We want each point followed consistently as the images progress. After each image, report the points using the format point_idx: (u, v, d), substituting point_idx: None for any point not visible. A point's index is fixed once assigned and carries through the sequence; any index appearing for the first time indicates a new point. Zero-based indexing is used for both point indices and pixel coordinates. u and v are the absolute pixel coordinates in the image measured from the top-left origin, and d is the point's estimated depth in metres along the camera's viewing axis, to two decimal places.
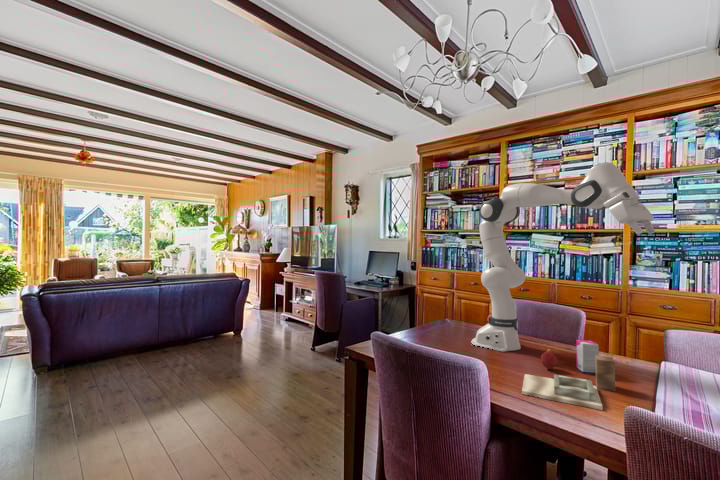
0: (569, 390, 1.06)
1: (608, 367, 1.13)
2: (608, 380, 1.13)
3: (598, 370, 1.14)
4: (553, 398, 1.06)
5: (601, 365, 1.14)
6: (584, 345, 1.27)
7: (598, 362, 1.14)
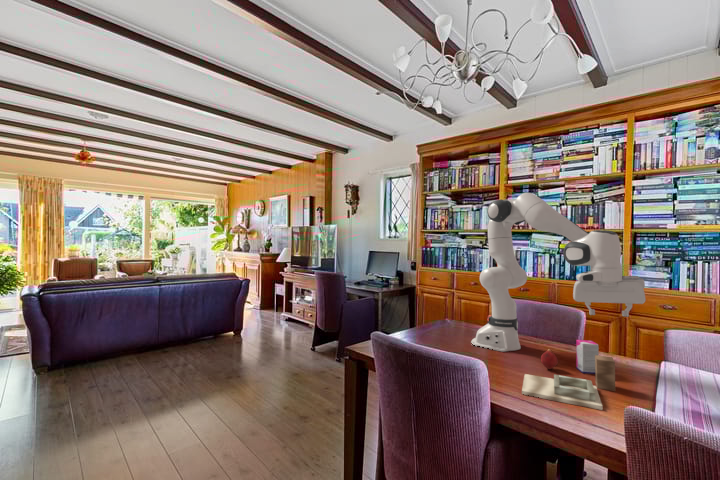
0: (569, 390, 1.06)
1: (608, 367, 1.13)
2: (608, 380, 1.13)
3: (598, 370, 1.14)
4: (553, 398, 1.06)
5: (601, 365, 1.14)
6: (584, 345, 1.27)
7: (598, 362, 1.14)
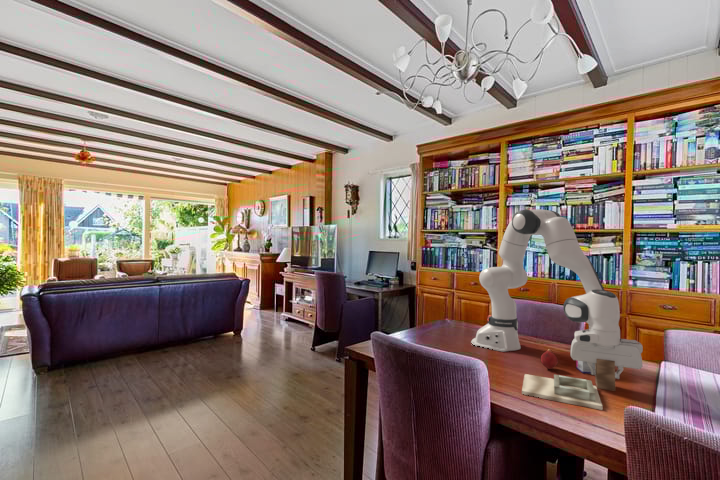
0: (569, 390, 1.06)
1: (608, 367, 1.13)
2: (608, 380, 1.13)
3: (598, 370, 1.14)
4: (553, 398, 1.06)
5: (601, 365, 1.14)
6: None
7: (598, 362, 1.14)
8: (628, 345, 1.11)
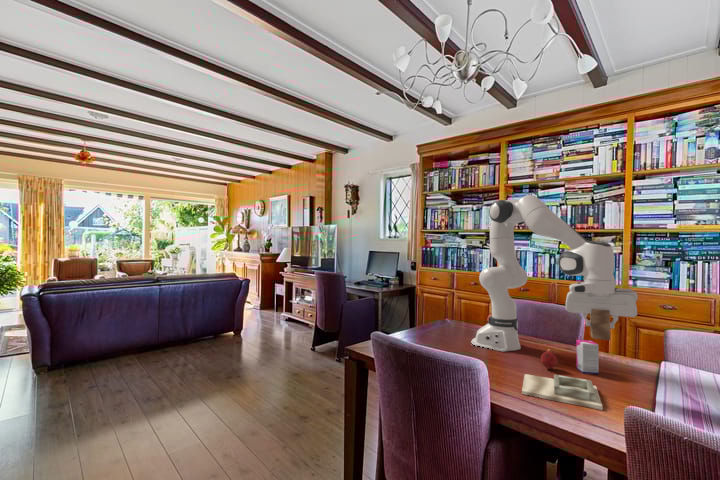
0: (569, 390, 1.06)
1: (603, 317, 1.12)
2: (603, 330, 1.12)
3: (593, 320, 1.14)
4: (553, 398, 1.06)
5: (596, 315, 1.13)
6: (584, 345, 1.27)
7: (593, 312, 1.14)
8: (623, 294, 1.11)
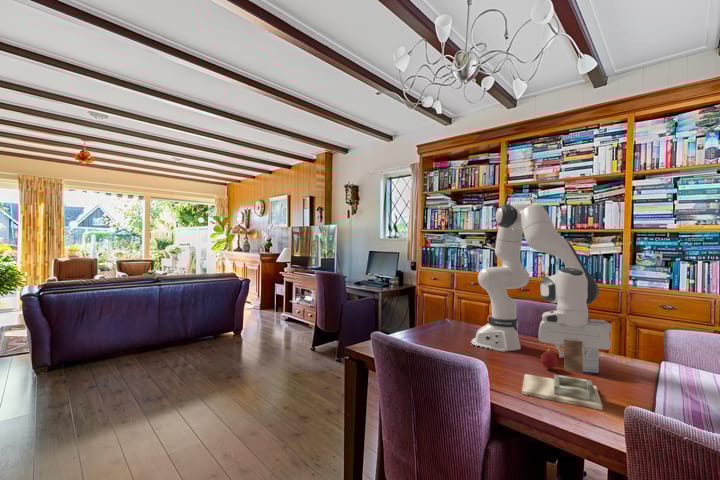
0: (569, 390, 1.06)
1: (576, 348, 1.07)
2: (576, 362, 1.07)
3: (566, 352, 1.09)
4: (553, 398, 1.06)
5: (569, 346, 1.08)
6: None
7: (565, 343, 1.09)
8: (596, 325, 1.06)
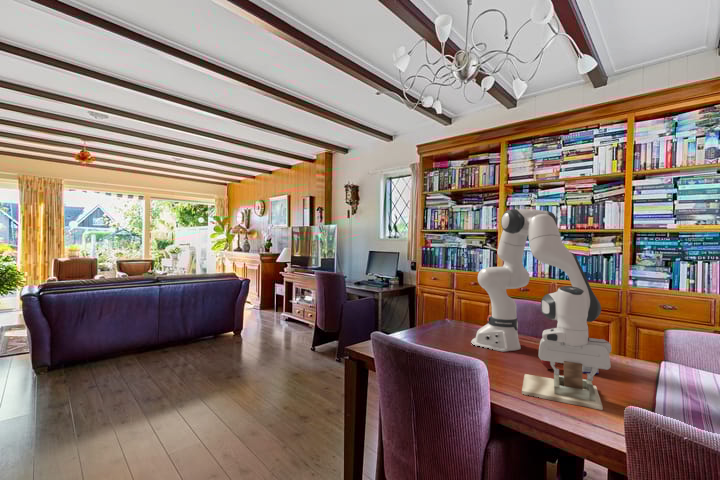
0: (569, 390, 1.06)
1: (576, 370, 1.08)
2: (575, 384, 1.08)
3: (565, 373, 1.09)
4: (553, 398, 1.06)
5: (568, 368, 1.09)
6: None
7: (565, 365, 1.09)
8: (596, 344, 1.06)
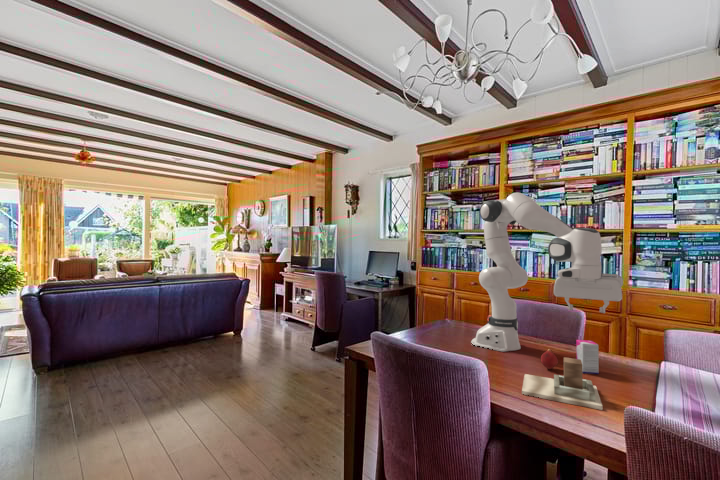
0: (569, 390, 1.06)
1: (576, 370, 1.08)
2: (575, 384, 1.08)
3: (565, 373, 1.09)
4: (553, 398, 1.06)
5: (568, 368, 1.09)
6: (584, 345, 1.27)
7: (565, 365, 1.09)
8: (609, 279, 1.14)
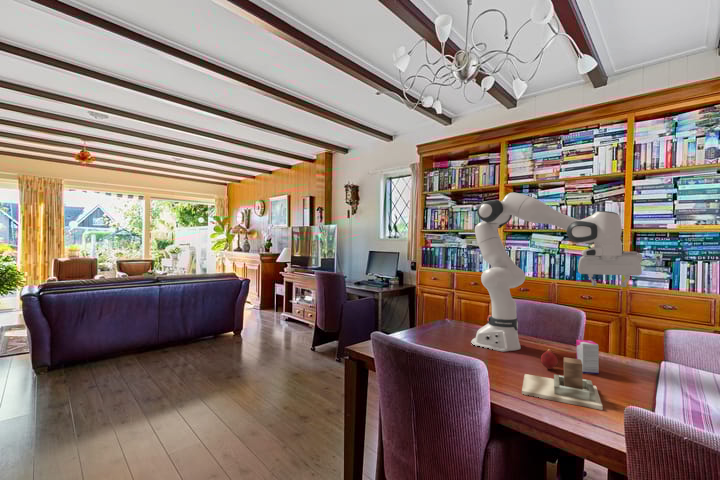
0: (569, 390, 1.06)
1: (576, 370, 1.08)
2: (575, 384, 1.08)
3: (565, 373, 1.09)
4: (553, 398, 1.06)
5: (568, 368, 1.09)
6: (584, 345, 1.27)
7: (565, 365, 1.09)
8: (629, 256, 1.27)
